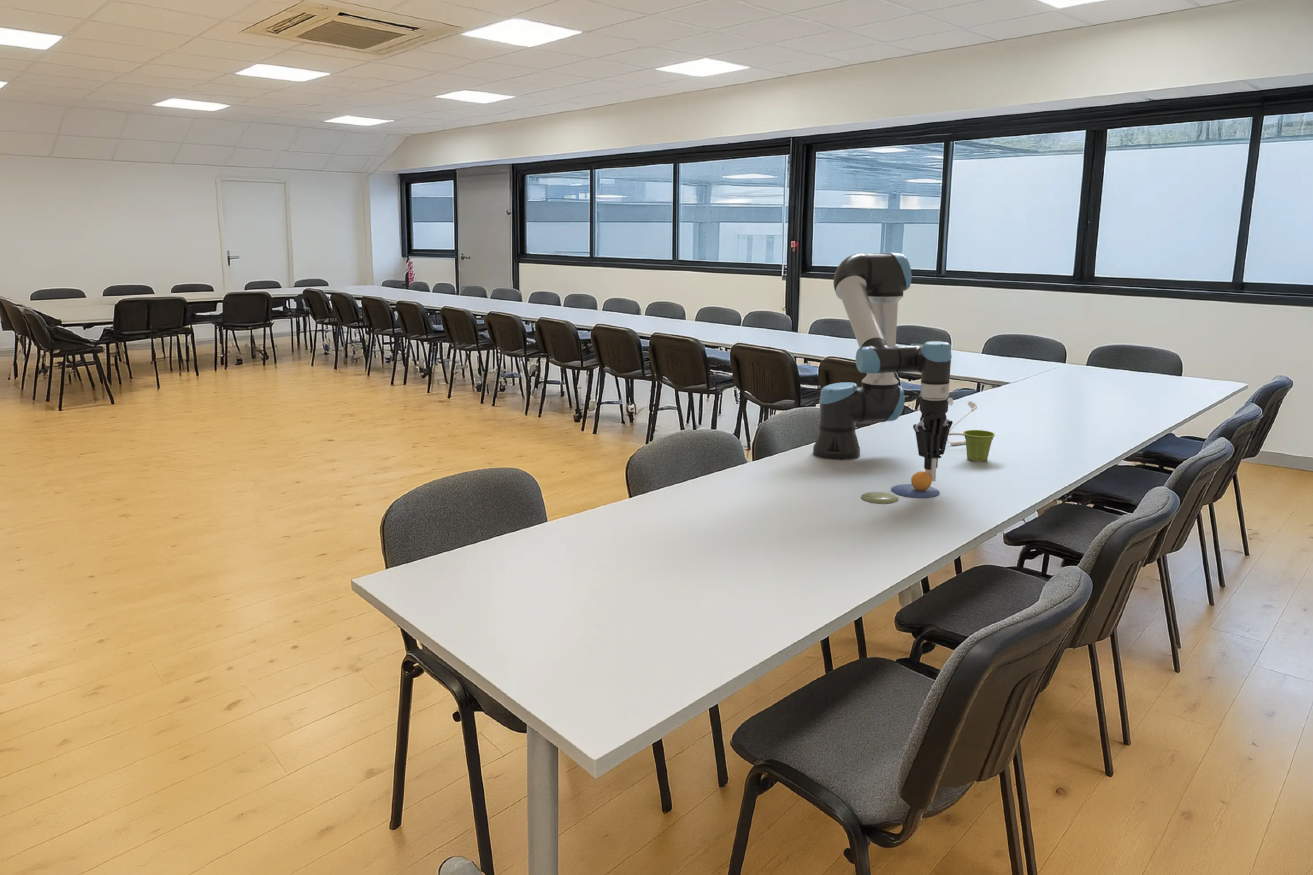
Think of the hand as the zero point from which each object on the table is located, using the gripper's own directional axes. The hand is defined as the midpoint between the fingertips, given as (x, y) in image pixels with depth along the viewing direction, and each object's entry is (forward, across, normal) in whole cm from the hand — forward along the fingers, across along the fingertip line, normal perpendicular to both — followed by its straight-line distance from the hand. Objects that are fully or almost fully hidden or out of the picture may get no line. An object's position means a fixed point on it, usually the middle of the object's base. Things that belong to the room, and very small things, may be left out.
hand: (930, 479), depth 241 cm
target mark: (+3, -5, 0) cm, 6 cm away
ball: (0, -3, 0) cm, 3 cm away
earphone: (+3, +51, +39) cm, 64 cm away
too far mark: (+2, -18, 0) cm, 18 cm away
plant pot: (+3, +37, +16) cm, 40 cm away
